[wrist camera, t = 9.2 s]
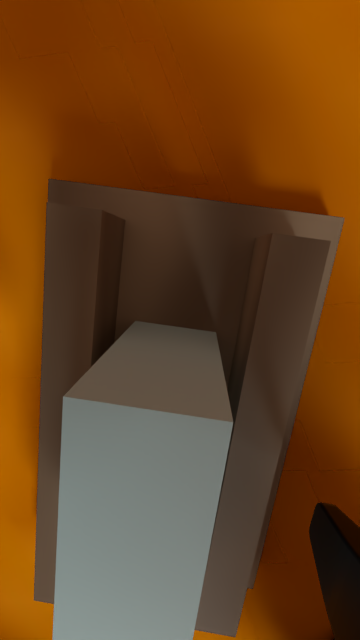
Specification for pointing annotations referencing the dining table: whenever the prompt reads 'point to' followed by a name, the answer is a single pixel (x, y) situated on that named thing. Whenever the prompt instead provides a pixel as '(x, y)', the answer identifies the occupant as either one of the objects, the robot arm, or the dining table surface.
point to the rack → (194, 313)
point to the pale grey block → (140, 486)
